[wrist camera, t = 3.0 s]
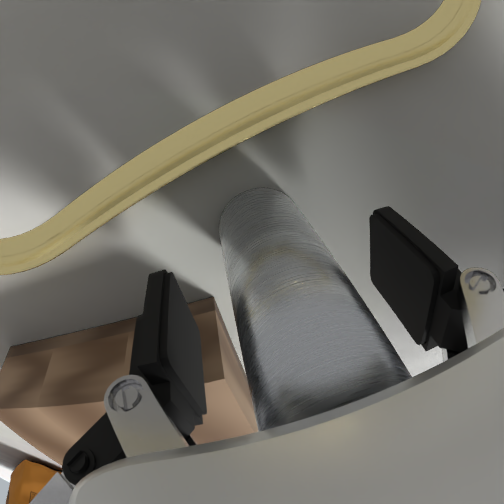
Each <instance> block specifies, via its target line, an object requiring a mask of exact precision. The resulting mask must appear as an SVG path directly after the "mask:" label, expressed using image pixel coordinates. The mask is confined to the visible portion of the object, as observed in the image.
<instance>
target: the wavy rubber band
mask: <svg viewBox="0 0 504 504" xmlns="http://www.w3.org/2000/svg"><path fill="white" fill-rule="evenodd" d="M480 4H481V0H444V1H443V2H442V4H441V6H440V7H439V8H438V9H437V11H436V12H435V13H434V14H433V15H432V16H431V17H430V18H429V19H428V20H427V21H426V22H424V23H423V24H421V25H420V26H418V27H417V28H415V29H413V30H411V31H409V32H407V33H405V34H403V35H400V36H397V37H395V38H392V39H388V40H385V41H381V42H378V43H375V44H372V45H368V46H365V47H362V48H359V49H356V50H353V51H350V52H347V53H344V54H342V55H339V56H336V57H333V58H330V59H328V60H325V61H322V62H320V63H317V64H315V65H312V66H309V67H307V68H305V69H302V70H300V71H297V72H295V73H292V74H290V75H288V76H285V77H283V78H281V79H278V80H276V81H274V82H272V83H269V84H267V85H265V86H263V87H261V88H259V89H256V90H254V91H252V92H250V93H248V94H246V95H244V96H242V97H240V98H238V99H236V100H234V101H232V102H230V103H228V104H226V105H224V106H222V107H220V108H218V109H216V110H214V111H212V112H211V113H209V114H207V115H205V116H203V117H201V118H199V119H198V120H196V121H194V122H192V123H191V124H189V125H187V126H185V127H184V128H182V129H180V130H178V131H177V132H175V133H173V134H172V135H170V136H168V137H166V138H165V139H163V140H162V141H160V142H158V143H157V144H155V145H153V146H152V147H150V148H149V149H147V150H145V151H144V152H142V153H141V154H139V155H138V156H136V157H135V158H133V159H132V160H130V161H129V162H127V163H126V164H124V165H123V166H121V167H120V168H118V169H117V170H115V171H114V172H112V173H111V174H109V175H108V176H107V177H105V178H104V179H102V180H101V181H100V182H98V183H97V184H95V185H94V186H93V187H91V188H90V189H89V190H87V191H86V192H85V193H83V194H82V195H81V196H79V197H78V198H77V199H75V200H74V201H73V202H71V203H70V204H69V205H68V206H66V207H65V208H64V209H62V210H61V211H60V212H59V213H57V214H56V215H55V216H54V217H52V218H51V219H49V220H48V221H46V222H45V223H44V224H42V225H40V226H38V227H36V228H34V229H33V230H30V231H28V232H26V233H23V234H21V235H17V236H13V237H10V238H3V239H0V275H8V274H14V273H19V272H24V271H27V270H30V269H33V268H36V267H38V266H40V265H42V264H45V263H47V262H49V261H51V260H53V259H54V258H56V257H57V256H59V255H61V254H62V253H64V252H66V251H67V250H68V249H70V248H71V247H72V246H74V245H75V244H77V243H78V242H79V241H81V240H82V239H84V238H85V237H86V236H88V235H89V234H91V233H92V232H94V231H95V230H96V229H98V228H99V227H101V226H102V225H104V224H105V223H107V222H108V221H110V220H111V219H113V218H114V217H116V216H117V215H119V214H120V213H122V212H123V211H125V210H126V209H128V208H129V207H131V206H133V205H134V204H136V203H137V202H139V201H140V200H142V199H144V198H145V197H147V196H148V195H150V194H152V193H153V192H155V191H156V190H158V189H160V188H161V187H163V186H165V185H166V184H168V183H170V182H171V181H173V180H175V179H176V178H178V177H180V176H182V175H183V174H185V173H187V172H188V171H190V170H192V169H194V168H195V167H197V166H199V165H201V164H202V163H204V162H206V161H208V160H210V159H211V158H213V157H215V156H217V155H219V154H221V153H222V152H224V151H226V150H228V149H230V148H232V147H234V146H236V145H238V144H239V143H241V142H243V141H245V140H247V139H249V138H251V137H253V136H255V135H257V134H259V133H261V132H263V131H265V130H267V129H269V128H271V127H273V126H275V125H277V124H279V123H281V122H284V121H286V120H288V119H290V118H292V117H294V116H296V115H299V114H301V113H303V112H305V111H307V110H310V109H312V108H314V107H316V106H319V105H321V104H323V103H325V102H328V101H330V100H332V99H335V98H337V97H339V96H342V95H344V94H347V93H349V92H352V91H354V90H357V89H359V88H362V87H364V86H367V85H369V84H372V83H374V82H377V81H380V80H382V79H385V78H388V77H391V76H393V75H396V74H399V73H402V72H405V71H408V70H410V69H413V68H416V67H419V66H421V65H423V64H426V63H428V62H430V61H432V60H434V59H436V58H438V57H439V56H441V55H443V54H444V53H446V52H447V51H448V50H449V49H451V48H452V47H453V46H455V44H456V43H457V42H458V41H459V40H460V39H461V38H462V37H463V36H464V35H465V33H466V32H467V31H468V29H469V28H470V27H471V25H472V23H473V21H474V19H475V17H476V15H477V12H478V10H479V7H480Z"/></svg>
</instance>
